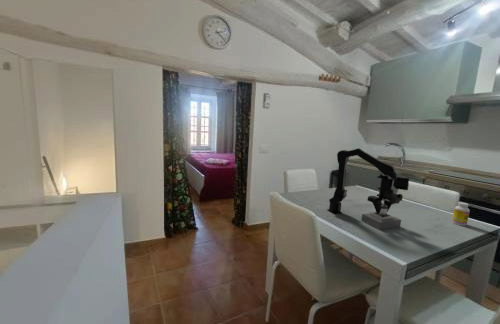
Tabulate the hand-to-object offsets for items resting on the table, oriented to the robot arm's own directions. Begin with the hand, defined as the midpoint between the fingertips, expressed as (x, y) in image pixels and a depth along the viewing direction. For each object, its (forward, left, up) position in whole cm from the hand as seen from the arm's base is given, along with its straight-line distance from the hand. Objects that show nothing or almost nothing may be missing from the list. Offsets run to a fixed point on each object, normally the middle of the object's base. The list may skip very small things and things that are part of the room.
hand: (381, 213), depth 131 cm
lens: (0, 0, -2) cm, 2 cm away
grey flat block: (0, 0, -6) cm, 6 cm away
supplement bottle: (+50, -12, -6) cm, 52 cm away
